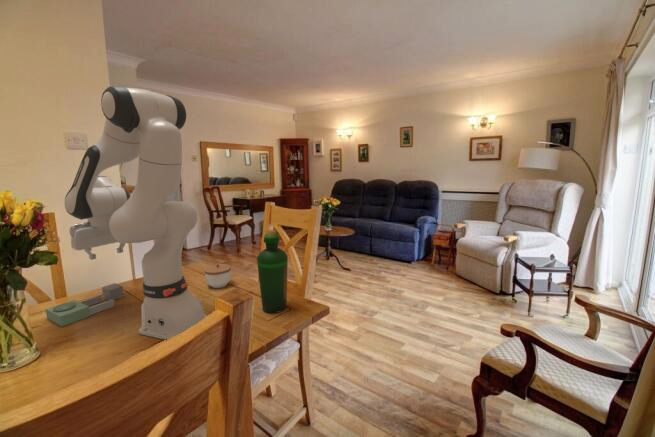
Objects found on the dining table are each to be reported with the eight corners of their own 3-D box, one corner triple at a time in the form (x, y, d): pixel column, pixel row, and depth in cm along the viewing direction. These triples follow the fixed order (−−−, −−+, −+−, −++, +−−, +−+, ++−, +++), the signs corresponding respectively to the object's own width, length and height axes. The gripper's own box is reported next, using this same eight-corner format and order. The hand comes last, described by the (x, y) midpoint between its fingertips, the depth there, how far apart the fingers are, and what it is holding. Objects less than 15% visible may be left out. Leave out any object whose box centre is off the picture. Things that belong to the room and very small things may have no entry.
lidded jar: (216, 279, 139) (215, 259, 137) (237, 282, 136) (236, 261, 134) (199, 288, 129) (197, 267, 127) (222, 291, 126) (220, 269, 124)
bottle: (295, 305, 113) (293, 230, 108) (275, 318, 104) (271, 236, 99) (273, 298, 119) (270, 226, 113) (252, 310, 110) (248, 232, 105)
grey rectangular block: (124, 296, 122) (122, 286, 121) (111, 301, 118) (109, 290, 118) (116, 293, 125) (114, 283, 124) (103, 298, 121) (101, 287, 121)
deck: (115, 306, 114) (114, 296, 113) (62, 326, 100) (59, 314, 99) (100, 300, 119) (98, 290, 118) (47, 318, 105) (45, 307, 105)
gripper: (73, 226, 106) (78, 265, 109) (134, 216, 123) (138, 250, 126) (64, 223, 109) (70, 261, 112) (126, 214, 126) (129, 247, 129)
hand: (107, 255), depth 119 cm, fingers open, 8 cm apart
